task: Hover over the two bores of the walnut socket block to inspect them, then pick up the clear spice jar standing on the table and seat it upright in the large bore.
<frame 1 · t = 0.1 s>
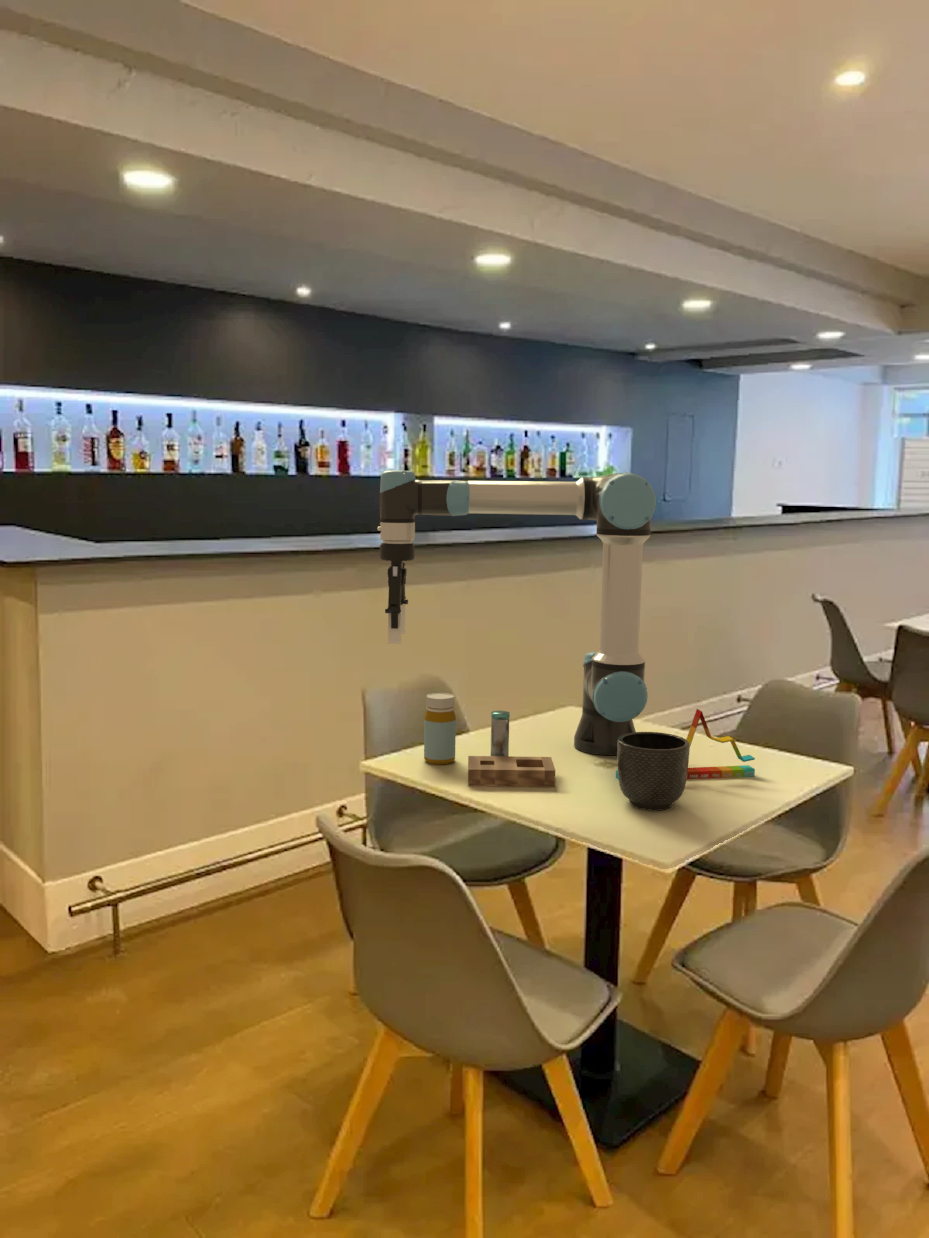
hand: (396, 638, 216), 28 cm above the table, fingers open, 13 cm apart
planter: (650, 804, 193), on the table
clear spice jar: (499, 765, 217), on the table
bottle: (439, 761, 220), on the table
socket block: (510, 778, 207), on the table
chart: (685, 779, 210), on the table
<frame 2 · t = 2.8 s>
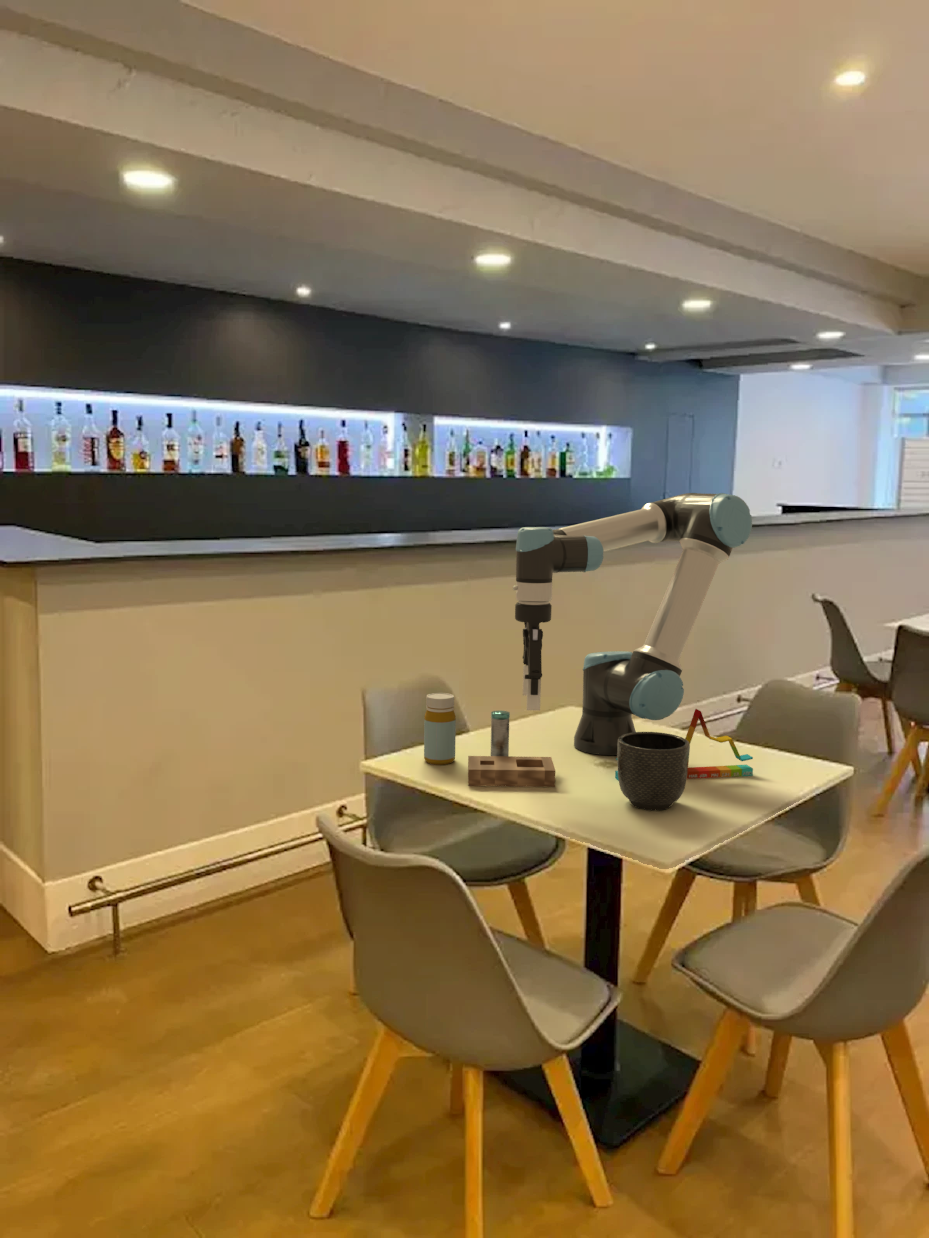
hand: (531, 702, 205), 17 cm above the table, fingers open, 13 cm apart
nothing on the table moved.
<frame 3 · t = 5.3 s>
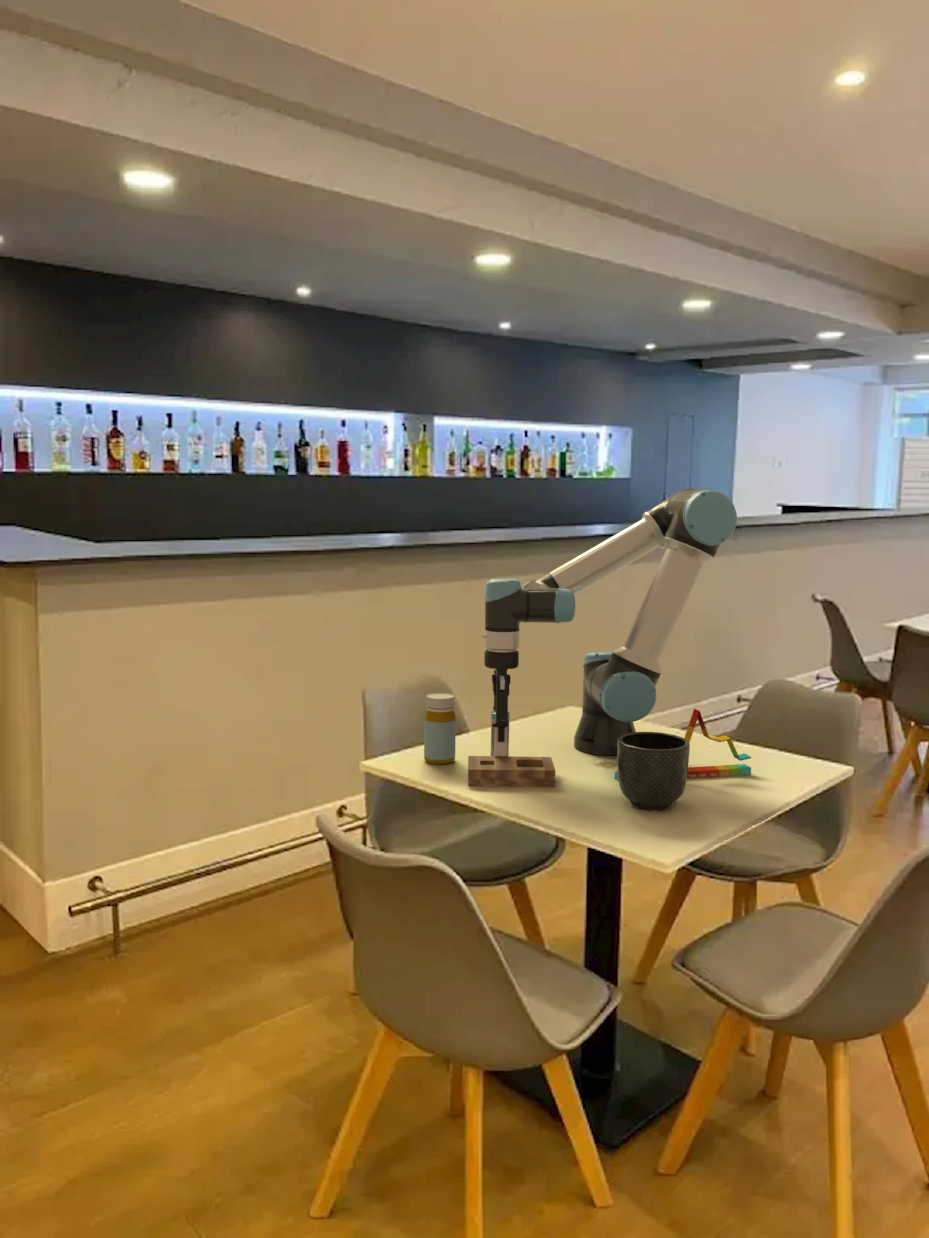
hand: (499, 749, 216), 4 cm above the table, fingers open, 9 cm apart
nothing on the table moved.
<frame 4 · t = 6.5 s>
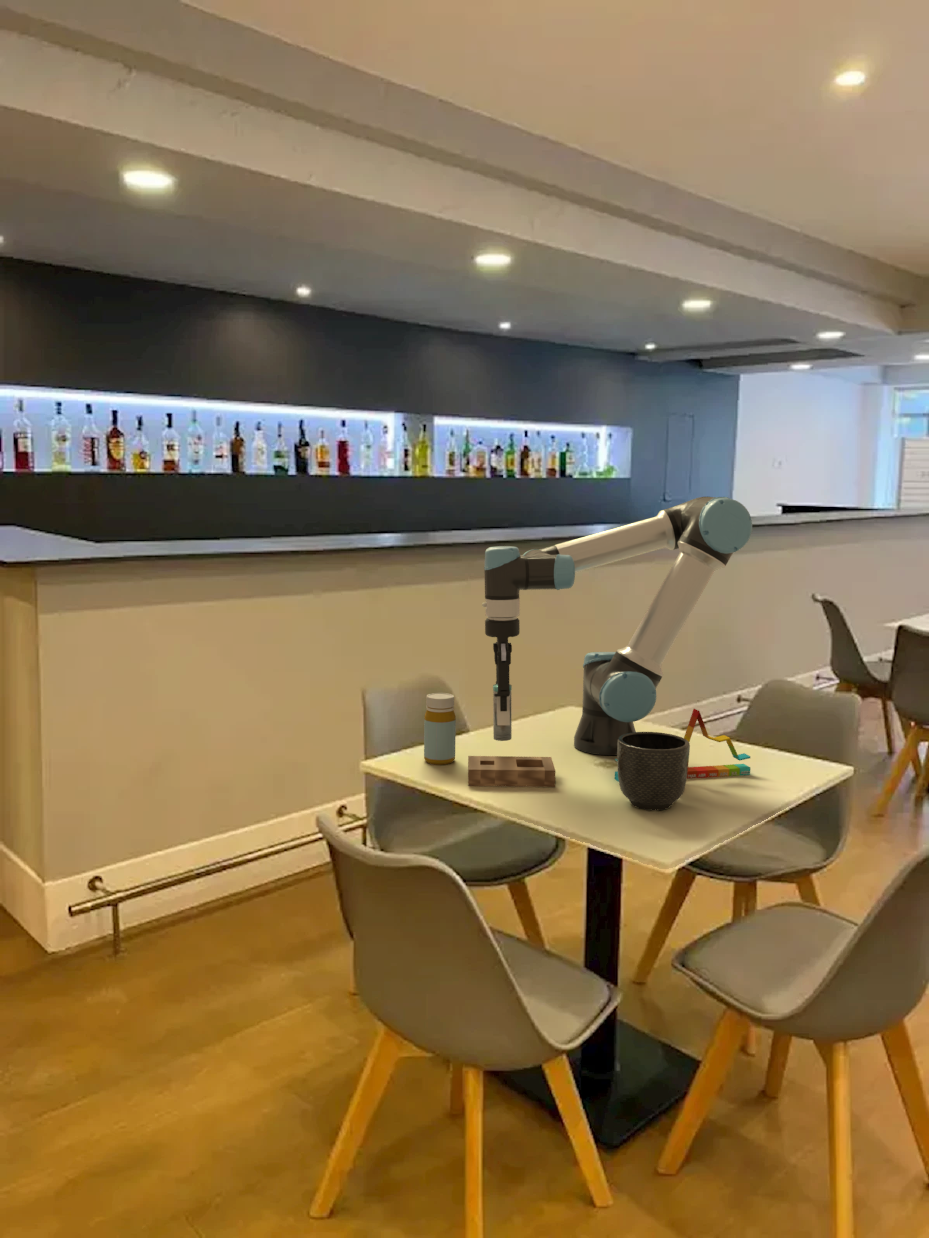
hand: (503, 721, 216), 10 cm above the table, fingers closed on clear spice jar, 4 cm apart
clear spice jar: (502, 738, 216), point 6 cm above the table, touching gripper
everything else where it was.
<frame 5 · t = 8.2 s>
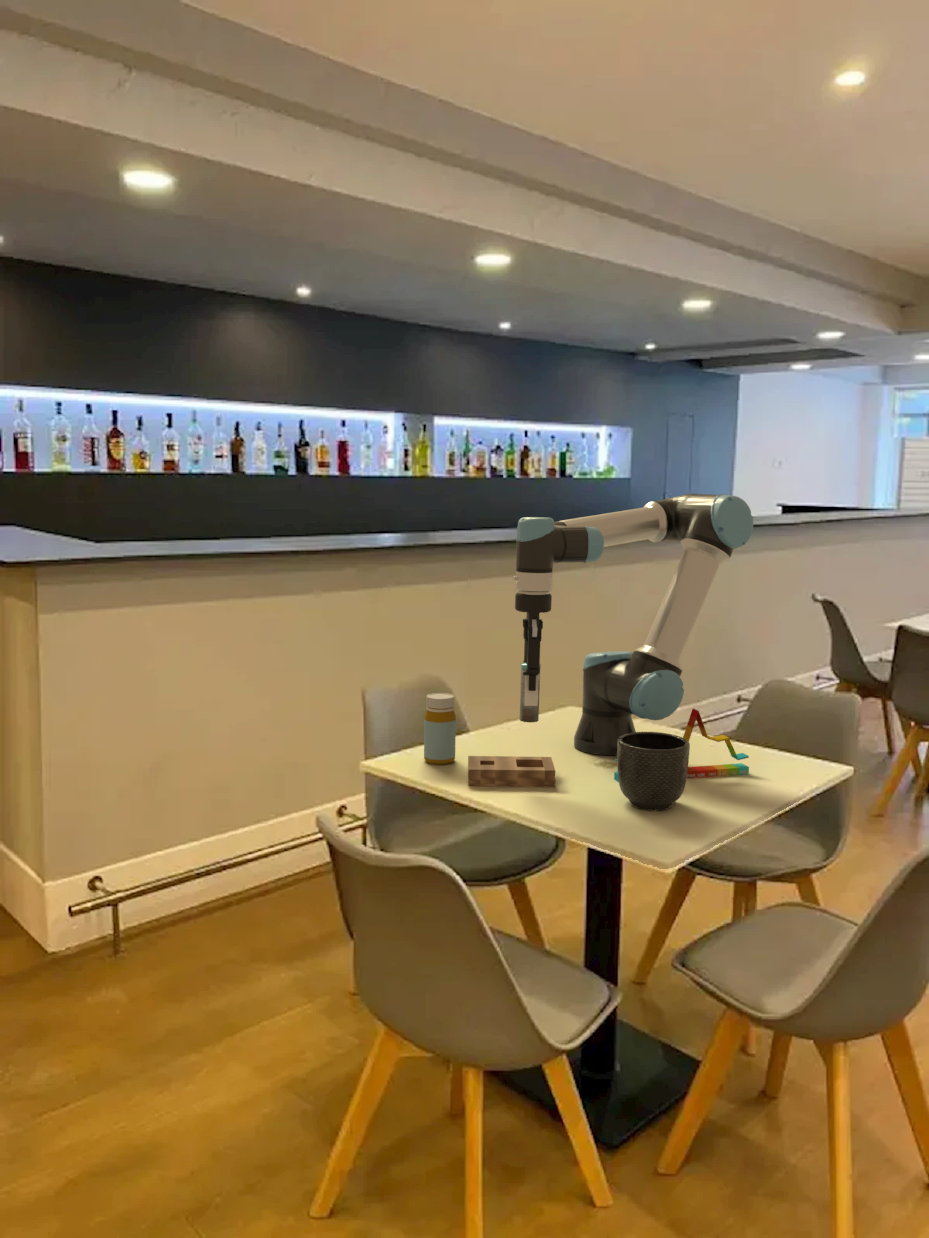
hand: (530, 702, 205), 17 cm above the table, fingers closed on clear spice jar, 4 cm apart
clear spice jar: (528, 720, 205), point 13 cm above the table, touching gripper
everything else where it was.
when the fingers open (5 cm above the table, at t = 10.1 s): clear spice jar stays where it is, resting on socket block.
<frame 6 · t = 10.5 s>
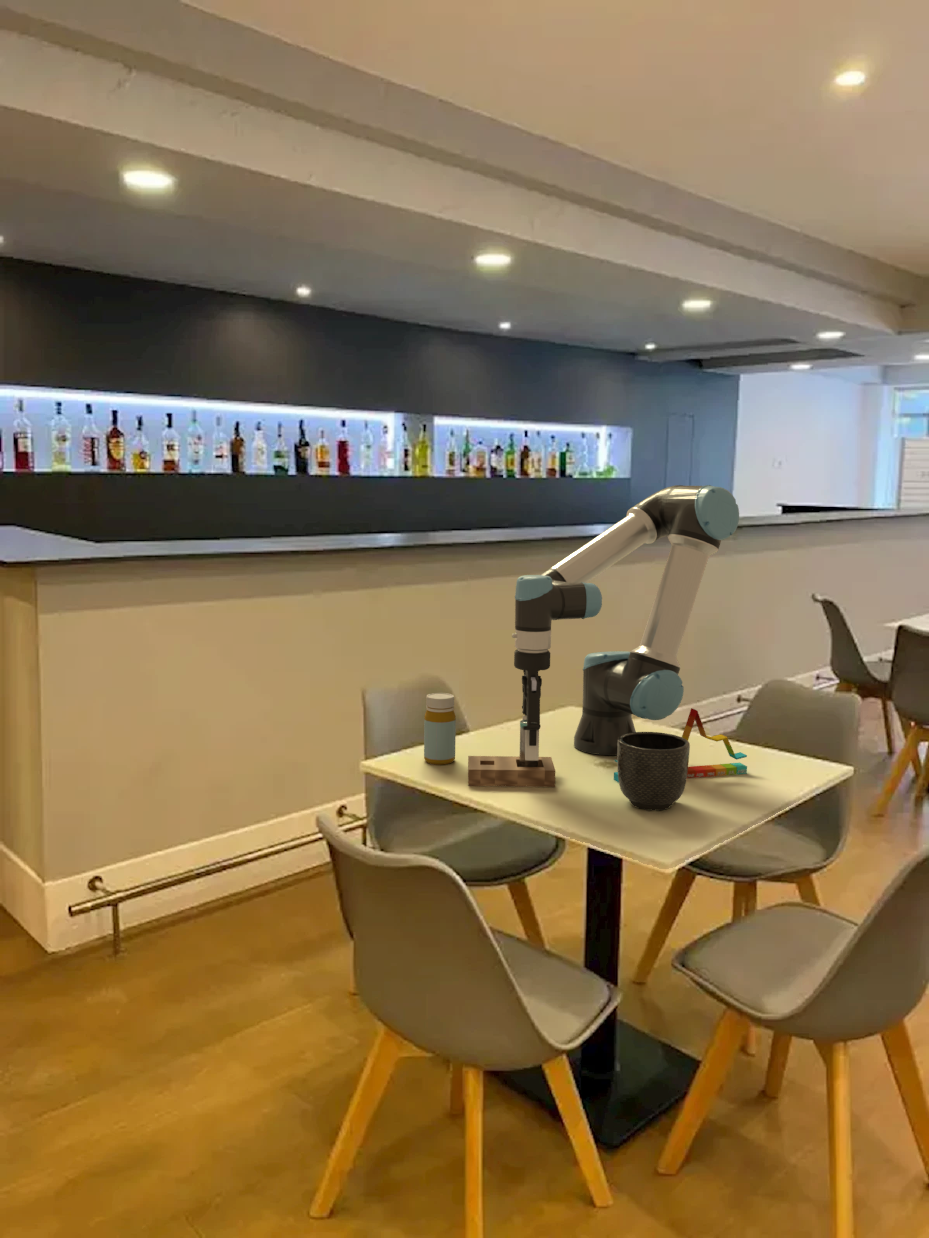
hand: (529, 752, 206), 6 cm above the table, fingers open, 10 cm apart
clear spice jar: (528, 776, 207), point 1 cm above the table, touching socket block
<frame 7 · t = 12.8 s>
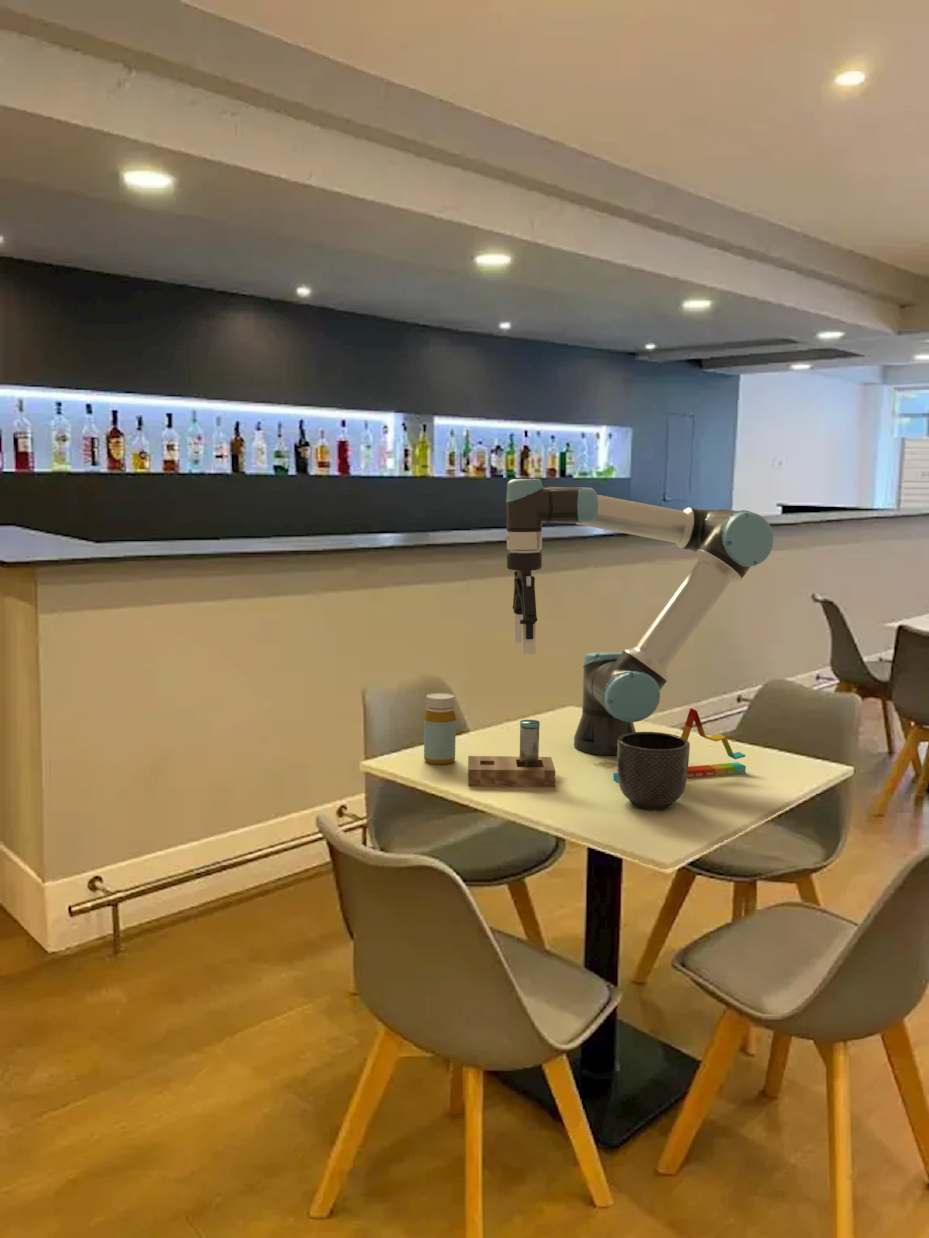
hand: (524, 648, 213), 27 cm above the table, fingers open, 13 cm apart
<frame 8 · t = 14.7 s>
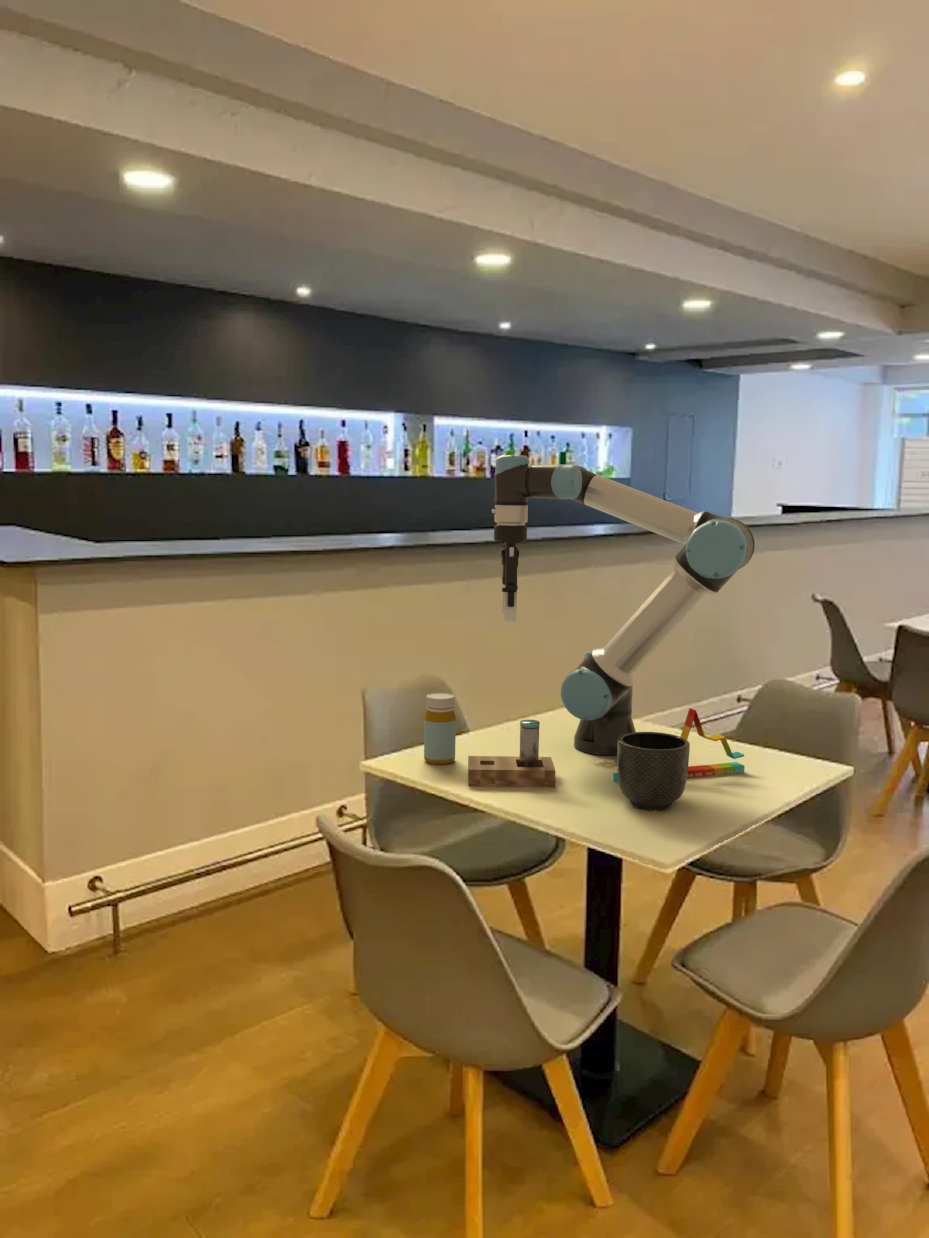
hand: (508, 616, 225), 32 cm above the table, fingers open, 13 cm apart
at the end: clear spice jar 0.2 cm from the target spot on the socket block, point 0.5 cm above the socket block's base; clear spice jar tilted 0°; the gripper is holding nothing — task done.
